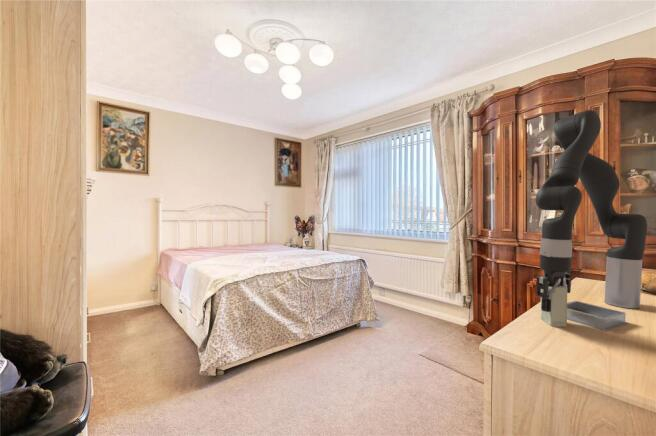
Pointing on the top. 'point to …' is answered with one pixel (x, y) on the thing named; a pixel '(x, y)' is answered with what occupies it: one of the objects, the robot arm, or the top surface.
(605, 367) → the top surface
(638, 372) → the top surface
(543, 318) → the skincare box
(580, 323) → the slate base plate
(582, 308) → the shallow grey tray
